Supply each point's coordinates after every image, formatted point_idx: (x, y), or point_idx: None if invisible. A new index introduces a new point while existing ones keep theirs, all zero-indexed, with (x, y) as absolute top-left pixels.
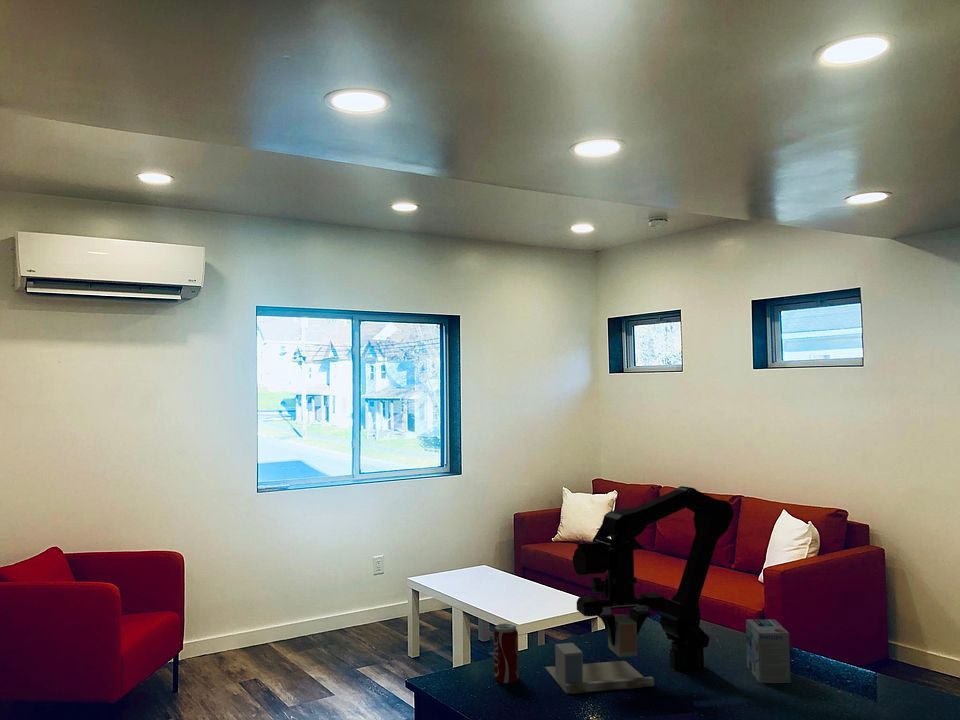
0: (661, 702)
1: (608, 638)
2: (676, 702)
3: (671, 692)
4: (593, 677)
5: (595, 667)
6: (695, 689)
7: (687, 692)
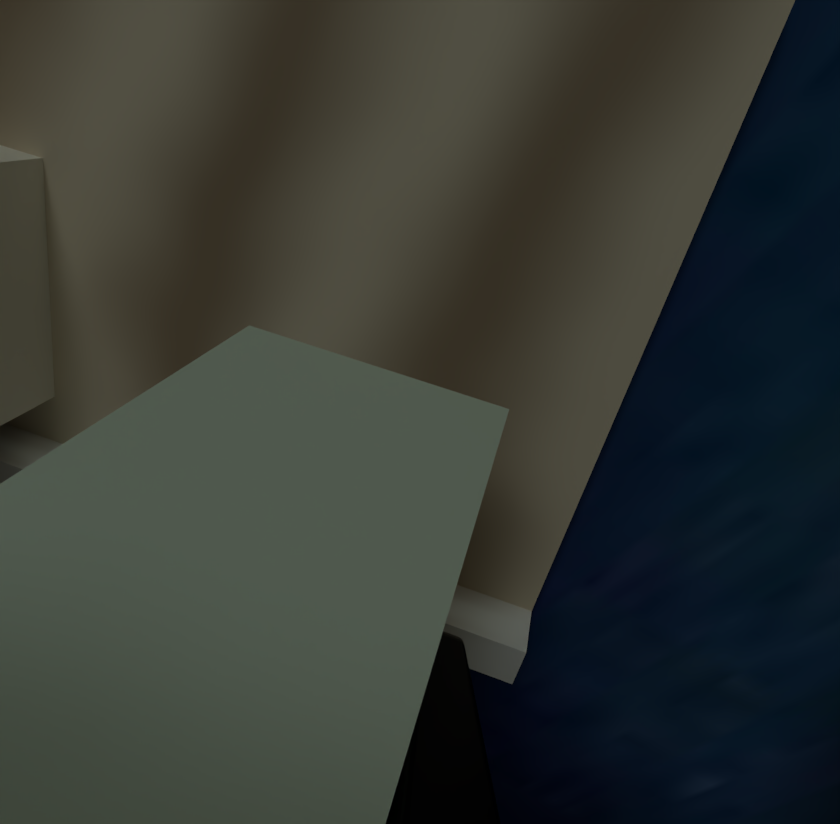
0: None
1: (171, 385)
2: (514, 772)
3: (607, 687)
4: (187, 279)
5: (320, 33)
6: (804, 747)
7: (704, 742)
